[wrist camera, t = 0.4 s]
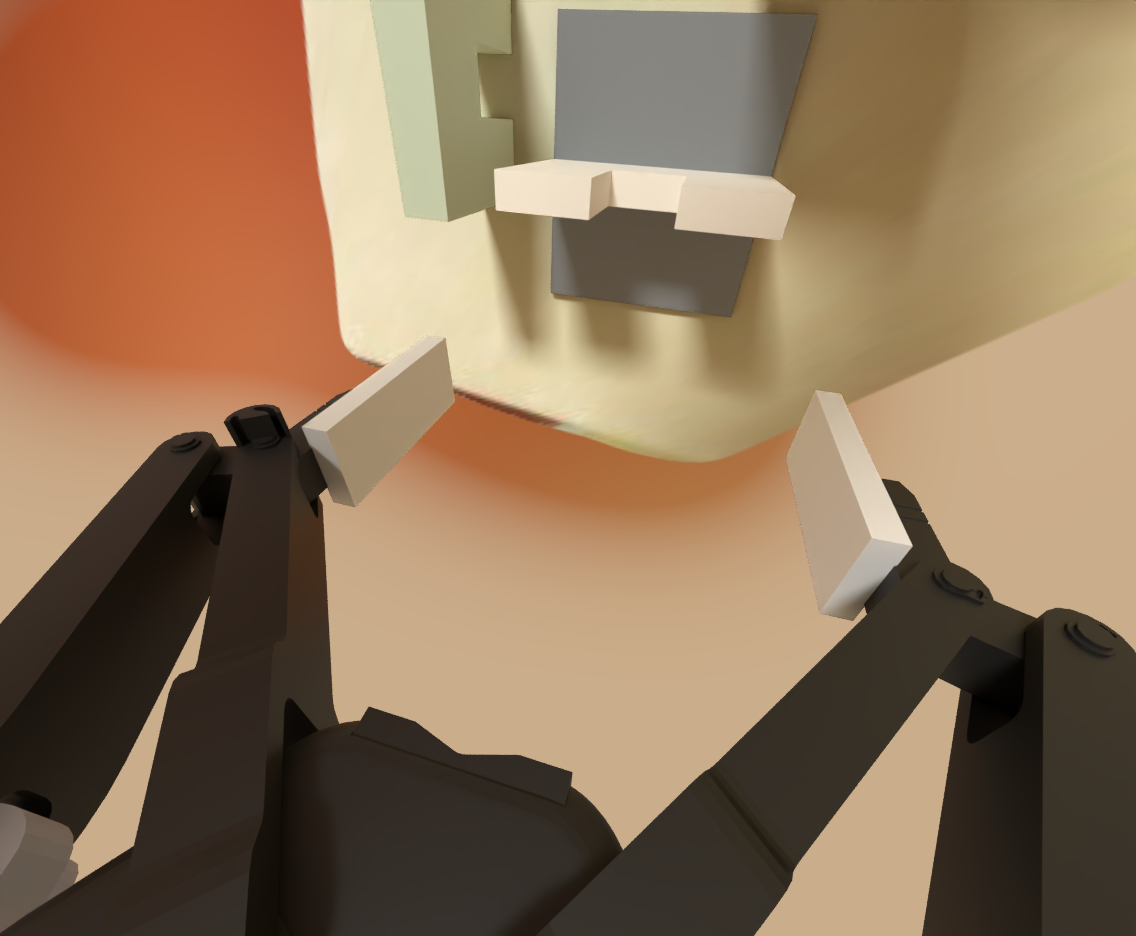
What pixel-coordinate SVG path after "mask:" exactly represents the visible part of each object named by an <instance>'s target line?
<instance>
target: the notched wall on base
mask: <svg viewBox="0 0 1136 936" xmlns="http://www.w3.org/2000/svg"><path fill="white" fill-rule="evenodd" d="M817 15H818V14H778V13H728V12H677V11H627V10H577V9H558V28H557V67H556V106H555V145H554V159H551V160H545V161H539V162H533V163H527V164H521V165H515V166H510V167H504V168H498V169H494V181H495V203H496V210H497V211H506V212H516V213H525V214H535V215H545V216H553V224H552V263H551V293H555V294H562V295H570V296H577V297H585V298H592V299H599V300H607V301H614V302H621V303H629V304H636V305H643V306H651V307H658V308H666V309H673V310H680V311H688V312H695V313H702V314H710V315H717V316H724V317H731V315H732V311H733V308H734V304H735V301H736V297H737V294H738V290H739V287H740V283H741V280H742V276H743V273H744V269H745V266H746V262H747V259H748V255H749V252H750V248H751V245H752V241H753V238H754V237H755V238H765V239H774V240H782V237H783V234H784V231H785V228H786V225H787V222H788V219H789V216H790V212H791V209H792V206H793V203H794V200H795V197H796V195H795V194H793V193H792V192H791V191H789V190H788V189H787V188H786V187H784V186H783V185H782V184H780V183H779V182H778V181H776V180H775V179H774V178H772V177H771V175H772V172H773V168H774V165H775V161H776V158H777V154H778V151H779V147H780V144H781V140H782V137H783V133H784V130H785V126H786V123H787V119H788V116H789V112H790V109H791V105H792V102H793V98H794V95H795V92H796V88H797V85H798V81H799V78H800V74H801V71H802V67H803V64H804V60H805V57H806V53H807V50H808V46H809V43H810V39H811V36H812V32H813V29H814V25H815V22H816V18H817Z"/></svg>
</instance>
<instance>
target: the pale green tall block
mask: <svg viewBox="0 0 1136 936" xmlns="http://www.w3.org/2000/svg"><path fill="white" fill-rule="evenodd" d="M370 4H371V10H372V16H373V22H374V29H375V35H376V41H377V47H378V53H379V60H380V66H381V72H382V78H383V84H384V91H385V97H386V103H387V109H388V115H389V122H390V128H391V134H392V140H393V146H394V153H395V159H396V165H397V171H398V177H399V184H400V190H401V196H402V202H403V208H404V215H405V217H408V218H417V219H426V220H435V221H444V222H449V221H452V220H455V219H458V218H461V217H464V216H467V215H470V214H473V213H476V212H479V211H482V210H485V209H488V208H491V207H493V206H496V203H495V181H494V169H498V168H504V167H510V166H514V130H513V120H512V119H497V118H482V117H481V107H480V90H479V72H478V55H477V53H482V54H508V55H512V37H511V0H370Z"/></svg>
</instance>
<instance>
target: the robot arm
mask: <svg viewBox="0 0 1136 936" xmlns="http://www.w3.org/2000/svg"><path fill="white" fill-rule="evenodd" d="M454 402H455V399H454V392H453V385H452V378H451V372H450V365H449V359H448V352H447V346H446V339H445V338H443V337H436V336H429V335H427V336H425V337H424V338H422V339H421V340H420V341H418V342H417V343H416V344H414V345H413V346H412V347H410V348H409V349H407V350H406V351H405V352H403V353H402V354H401V355H399V356H398V357H396V358H395V359H394V360H392V361H391V362H390V363H388V364H387V365H385V366H384V367H383V368H381V369H380V370H379V371H377V372H376V373H375V374H373V375H372V376H370V377H369V378H368V379H366V380H365V381H364V382H362V383H361V384H359V385H358V386H357V387H355V388H354V389H351V390H349V391H346V392H344V393H342V394H339V395H337V396H335V397H334V398H333V399H331V400H330V401H328V402H327V403H326V405H323V406H322V407H320V408H319V409H317V412H316V411H314V412H313V413H312V414H310V415H309V416H307V417H306V418H305V419H303V420H302V421H300V422H299V423H298V424H296V425H295V426H293V427H292V428H291V429H288V426H287V424H286V422H285V420H284V418H283V415H282V413H281V411H280V409H279V408H278V407H276V406H274V405H265V404H264V405H254V406H250V407H246V408H243V409H241V410H238V411H236V412H234V413H232V414H231V415H229V416H228V417H227V418H226V420H225V421H224V424H225V425H226V427H227V429H228V431H229V433H230V435H231V436H232V438H233V440H234V442H235V443H236V445H237V446H224V447H219V445H218V444H217V442H216V440H215V439H214V437H213V435H212V434H210V433H208V432H190V433H183V434H181V435H176V436H174V437H173V438H171V439H169V440H167V441H165V442H164V443H162V444H161V445H160V446H159V447H157V449H156V450H155V451H154V452H153V453H152V454H151V455H150V456H149V458H148V459H147V460H146V461H145V462H144V463H143V464H142V465H141V467H140V468H139V469H138V470H137V471H136V472H135V473H134V474H133V476H132V477H131V478H130V479H129V480H128V481H127V482H126V483H125V484H124V486H123V487H122V488H121V489H120V490H119V491H118V492H117V493H116V495H115V496H114V497H113V498H112V499H111V500H110V501H109V503H108V504H107V505H106V506H105V507H104V508H103V509H102V510H101V511H100V513H99V514H98V515H97V516H96V517H95V518H94V519H93V520H92V521H91V523H90V524H89V525H88V526H87V527H86V528H85V529H84V531H83V532H82V533H81V534H80V535H79V536H78V537H77V538H76V540H75V541H74V542H73V543H72V544H71V545H70V546H69V547H68V548H67V550H66V551H65V552H64V553H63V554H62V555H61V556H60V557H59V559H58V560H57V561H56V562H55V563H54V564H53V565H52V566H51V568H50V569H49V570H48V571H47V572H46V573H45V574H44V575H43V576H42V578H41V579H40V580H39V581H38V582H37V583H36V584H35V585H34V587H33V588H32V589H31V590H30V591H29V592H28V593H27V594H26V596H25V597H24V598H23V599H22V600H21V601H20V602H19V603H18V605H17V606H16V607H15V608H14V609H13V610H12V611H11V612H10V614H9V615H8V616H7V617H6V618H5V619H4V620H3V621H2V623H1V624H0V936H754V935H755V934H756V932H757V931H758V930H759V928H760V927H761V925H762V924H763V923H764V921H765V920H766V919H767V917H768V916H769V915H770V913H771V912H772V911H773V909H774V908H775V907H776V905H777V904H778V902H779V901H780V899H781V898H782V897H783V895H784V894H785V892H786V891H787V889H788V887H789V885H790V883H791V881H792V877H793V871H794V869H795V867H796V866H797V864H798V863H799V861H800V860H801V859H802V857H803V856H804V854H805V853H806V852H807V851H808V849H809V848H810V847H811V845H812V844H813V843H814V841H815V840H816V839H817V837H818V836H819V835H820V833H821V832H822V831H823V830H824V828H825V827H826V825H827V824H828V823H829V821H830V820H831V819H832V818H833V816H834V815H835V814H836V812H837V811H838V809H839V808H840V807H841V806H842V804H843V803H844V802H845V800H846V799H847V798H848V796H849V795H850V794H851V792H852V791H853V790H854V789H855V787H856V786H857V785H858V783H859V782H860V781H861V779H862V778H863V777H864V775H865V774H866V773H867V771H868V770H869V769H870V767H871V766H872V765H873V763H874V762H875V761H876V759H877V758H878V757H879V755H880V754H881V753H882V751H883V750H884V749H885V748H886V746H887V745H888V744H889V742H890V741H891V740H892V738H893V737H894V736H895V734H896V733H897V732H898V730H899V729H900V728H901V726H902V725H903V724H904V722H905V721H906V720H907V719H908V717H909V716H910V715H911V713H912V712H913V710H914V709H915V708H916V706H917V705H918V704H919V703H920V701H921V700H922V699H923V697H924V696H925V695H926V693H927V692H928V691H929V689H930V688H931V687H932V685H933V684H934V683H935V681H936V680H937V679H938V678H940V679H942V680H944V681H946V682H948V683H950V684H952V685H954V686H956V687H958V688H960V689H961V691H960V697H959V703H958V709H957V716H956V722H955V728H954V735H953V741H952V748H951V754H950V760H949V767H948V773H947V780H946V786H945V792H944V799H943V806H942V811H941V818H940V824H939V831H938V837H937V844H936V850H935V856H934V863H933V869H932V876H931V882H930V888H929V895H928V901H927V908H926V914H925V920H924V926H923V927H924V928H923V933H922V936H1136V653H1135V651H1134V649H1133V648H1132V647H1131V646H1130V645H1129V644H1128V643H1127V642H1126V641H1125V640H1124V639H1123V638H1122V637H1121V636H1120V635H1119V634H1117V633H1116V632H1115V631H1114V630H1112V629H1111V628H1109V627H1108V626H1106V625H1105V624H1103V623H1101V622H1099V621H1097V620H1095V619H1093V618H1092V617H1090V616H1088V615H1085V614H1082V613H1079V612H1076V611H1074V610H1070V609H1063V608H1054V609H1051V610H1048V611H1046V612H1045V613H1043V614H1042V615H1041V616H1040V617H1038V618H1035V617H1032V616H1030V615H1027V614H1025V613H1022V612H1020V611H1018V610H1015V609H1013V608H1010V607H1008V606H1005V605H1003V604H1000V603H998V602H996V601H994V600H993V597H992V595H991V593H990V591H989V589H988V588H987V587H986V586H985V585H984V584H983V582H982V581H981V580H980V579H979V578H977V577H976V576H975V575H973V574H972V573H970V572H969V571H968V570H966V569H964V568H962V567H960V566H958V565H955V564H954V563H951V562H950V561H949V559H948V557H947V555H946V553H945V551H944V550H943V548H942V546H941V544H940V542H939V540H938V539H937V537H936V535H935V533H934V531H933V529H932V527H931V526H930V524H928V520H927V518H926V516H925V514H924V513H923V512H921V511H922V509H921V507H920V506H919V503H918V501H917V500H916V498H915V496H914V495H913V494H912V493H911V492H910V491H909V490H908V489H907V488H905V487H904V486H903V485H902V484H901V483H900V482H898V481H893V480H887V479H881V478H880V476H879V473H878V471H877V469H876V467H875V465H874V463H873V461H872V459H871V456H870V454H869V452H868V450H867V448H866V446H865V444H864V442H863V440H862V437H861V435H860V433H859V431H858V429H857V427H856V425H855V422H854V420H853V418H852V416H851V414H850V412H849V410H848V408H847V406H846V403H845V401H844V399H843V397H842V395H841V394H840V393H833V392H826V391H819V390H815V392H814V394H813V397H812V399H811V401H810V403H809V406H808V408H807V410H806V413H805V415H804V417H803V420H802V422H801V424H800V426H799V429H798V431H797V434H796V436H795V438H794V440H793V442H792V445H791V447H790V449H789V452H788V454H787V456H786V460H787V465H788V469H789V474H790V478H791V483H792V488H793V493H794V497H795V502H796V507H797V511H798V516H799V520H800V525H801V530H802V534H803V539H804V544H805V548H806V553H807V558H808V562H809V567H810V572H811V576H812V581H813V586H814V590H815V595H816V600H817V604H818V609H819V613H821V614H825V615H829V616H833V617H838V618H842V619H847V620H851V621H853V620H854V619H855V618H856V616H857V615H858V614H859V613H860V612H861V610H862V609H863V608H864V607H865V610H866V613H867V615H866V616H865V617H864V618H863V619H862V620H861V621H860V622H859V623H858V624H857V625H856V626H855V627H854V628H853V629H852V630H851V631H850V632H849V633H848V634H847V635H846V636H845V637H844V638H843V639H842V640H841V641H840V642H839V643H838V644H837V645H836V646H835V647H834V648H833V649H832V650H830V652H828V653H827V654H826V655H825V656H824V657H823V658H822V659H821V660H820V661H819V662H818V663H817V664H816V665H815V666H814V667H813V668H812V669H811V670H810V671H809V672H808V673H807V674H806V675H805V676H804V677H803V678H802V679H801V680H800V681H799V682H798V683H797V684H796V685H795V686H794V687H793V688H792V689H791V690H790V691H789V692H788V693H787V694H786V695H785V696H784V697H783V698H782V699H781V700H780V701H779V702H778V703H777V704H776V705H775V706H774V707H773V708H772V709H771V710H770V711H769V712H768V713H767V714H766V715H765V716H764V717H763V718H762V719H761V720H760V721H759V722H758V723H757V724H756V725H755V726H753V727H752V728H751V729H750V730H749V732H747V733H746V735H744V737H742V738H741V739H740V740H739V741H738V742H737V743H736V744H735V745H734V746H733V747H732V748H731V749H730V750H729V751H728V752H727V753H726V754H725V755H724V756H723V757H722V758H721V759H720V760H719V761H718V762H717V763H716V764H715V765H714V766H713V767H711V768H710V769H708V770H706V771H705V772H704V773H702V774H701V775H700V776H699V777H698V778H697V779H695V780H694V781H693V782H692V783H691V784H690V785H689V786H688V787H687V788H686V789H685V790H684V791H683V792H682V793H681V794H680V795H679V796H678V797H677V798H676V799H675V800H674V801H673V802H672V803H671V804H670V805H669V806H668V807H667V808H666V809H665V810H664V811H663V812H662V813H661V814H659V815H658V817H656V818H655V819H654V820H653V821H652V822H651V823H650V824H649V825H648V826H647V827H646V828H645V829H644V830H643V831H642V832H641V833H640V834H639V835H638V836H637V837H636V838H635V839H634V840H633V841H632V842H631V843H630V844H629V845H628V846H627V847H626V848H625V849H624V850H623V849H622V847H621V846H620V843H619V841H618V839H617V837H616V836H615V834H614V832H613V830H612V829H611V827H610V826H609V824H608V823H607V821H606V820H605V818H604V817H603V816H602V814H601V813H600V812H599V811H598V810H597V808H596V807H595V806H594V805H593V804H592V803H591V802H590V801H589V800H588V799H587V798H586V797H585V796H583V795H582V794H581V793H580V792H578V791H577V790H576V789H574V788H573V787H571V781H572V772H570V771H567V770H564V769H561V768H558V767H554V766H551V765H548V764H545V763H542V762H539V761H536V760H533V759H530V758H526V757H523V756H520V755H465V754H459V753H457V752H455V751H454V750H452V749H451V748H450V747H448V746H447V745H446V744H444V743H443V742H442V741H440V740H439V739H438V738H436V737H435V736H434V735H432V734H431V733H430V732H428V731H427V730H426V729H424V728H423V727H422V726H420V725H419V724H418V723H416V722H415V721H412V720H408V719H405V718H403V717H399V716H396V715H393V714H390V713H387V712H384V711H381V710H378V709H375V708H372V707H368V709H367V710H366V712H365V714H364V715H363V717H362V719H361V720H360V721H353V722H345V723H341V724H339V722H338V719H337V717H336V713H335V710H334V705H333V695H332V676H331V658H330V639H329V621H328V603H327V602H328V600H327V581H326V562H325V542H324V524H323V505H322V502H321V500H320V498H319V495H320V493H322V492H323V491H324V490H325V489H326V488H328V490H329V493H330V495H331V497H332V500H333V502H335V503H340V504H343V505H348V506H352V507H356V506H357V505H358V504H359V503H360V502H361V501H362V500H363V499H364V498H365V496H366V495H367V494H368V493H369V492H370V491H371V490H372V489H373V488H374V487H375V486H376V485H377V484H378V483H379V482H380V480H381V479H382V478H383V477H384V476H385V475H386V474H387V473H388V472H389V471H390V470H391V469H392V468H393V467H394V466H395V465H396V464H397V462H398V461H399V460H400V459H401V458H402V457H403V456H404V455H405V454H406V453H407V452H408V451H409V450H410V449H411V448H412V446H413V445H414V444H415V443H416V442H417V441H418V440H419V439H420V438H421V437H422V436H423V435H424V434H425V433H426V432H427V431H428V430H429V428H430V427H431V426H432V425H433V424H434V423H435V422H436V421H437V420H438V419H439V418H440V417H441V416H442V415H443V414H444V413H445V411H446V410H447V409H448V408H449V407H450V406H451V405H452V404H453V403H454ZM191 505H192V507H193V508H194V511H193V512H192V513H191ZM209 596H210V598H209ZM208 598H209V603H208V609H207V613H206V619H205V625H204V630H203V635H202V640H201V645H200V650H199V656H198V661H197V664H196V667H195V668H194V669H193V670H190V671H187V672H185V673H181V674H179V676H178V677H177V678H176V679H175V680H174V681H173V683H172V686H171V689H170V691H169V694H168V699H167V703H166V708H165V712H164V717H163V721H162V725H161V729H160V734H159V738H158V743H157V747H156V752H155V756H154V760H153V765H152V769H151V774H150V778H149V782H148V787H147V791H146V795H145V800H144V804H143V808H142V813H141V817H140V822H139V826H138V831H137V835H136V839H135V843H134V846H133V847H131V848H130V849H128V850H127V851H125V852H124V853H122V854H120V855H119V856H117V857H116V858H114V859H113V860H111V861H110V862H108V863H106V864H105V865H103V866H102V867H100V868H99V869H97V870H95V871H94V872H92V873H91V874H89V875H88V876H86V877H85V878H83V879H81V880H80V881H78V882H77V883H75V884H74V882H75V880H76V877H77V875H78V864H77V863H75V862H74V861H72V860H70V856H71V853H72V850H73V844H74V842H75V841H76V840H77V838H78V837H79V836H80V834H81V833H82V832H83V830H84V829H85V827H86V826H87V824H88V823H89V821H90V820H91V818H92V817H93V815H94V814H95V812H96V811H97V809H98V808H99V806H100V805H101V803H102V801H103V800H104V799H105V797H106V796H107V794H108V792H109V790H110V788H111V787H112V785H113V783H114V781H115V780H116V778H117V776H118V774H119V772H120V771H121V769H122V767H123V765H124V764H125V762H126V760H127V758H128V756H129V753H130V752H131V750H132V748H133V746H134V744H135V742H136V740H137V738H138V736H139V734H140V732H141V730H142V728H143V726H144V724H145V722H146V720H147V718H148V716H149V715H150V712H151V711H152V709H153V706H154V705H155V703H156V701H157V699H158V696H159V695H160V693H161V691H162V689H163V687H164V685H165V683H166V681H167V679H168V677H169V675H170V673H171V671H172V669H173V667H174V665H175V663H176V661H177V659H178V657H179V655H180V653H181V651H182V649H183V647H184V645H185V644H186V642H187V639H188V637H189V636H190V634H191V632H192V629H193V628H194V626H195V624H196V622H197V620H198V618H199V616H200V614H201V612H202V610H203V608H204V606H205V604H206V602H207V600H208Z"/></svg>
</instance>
